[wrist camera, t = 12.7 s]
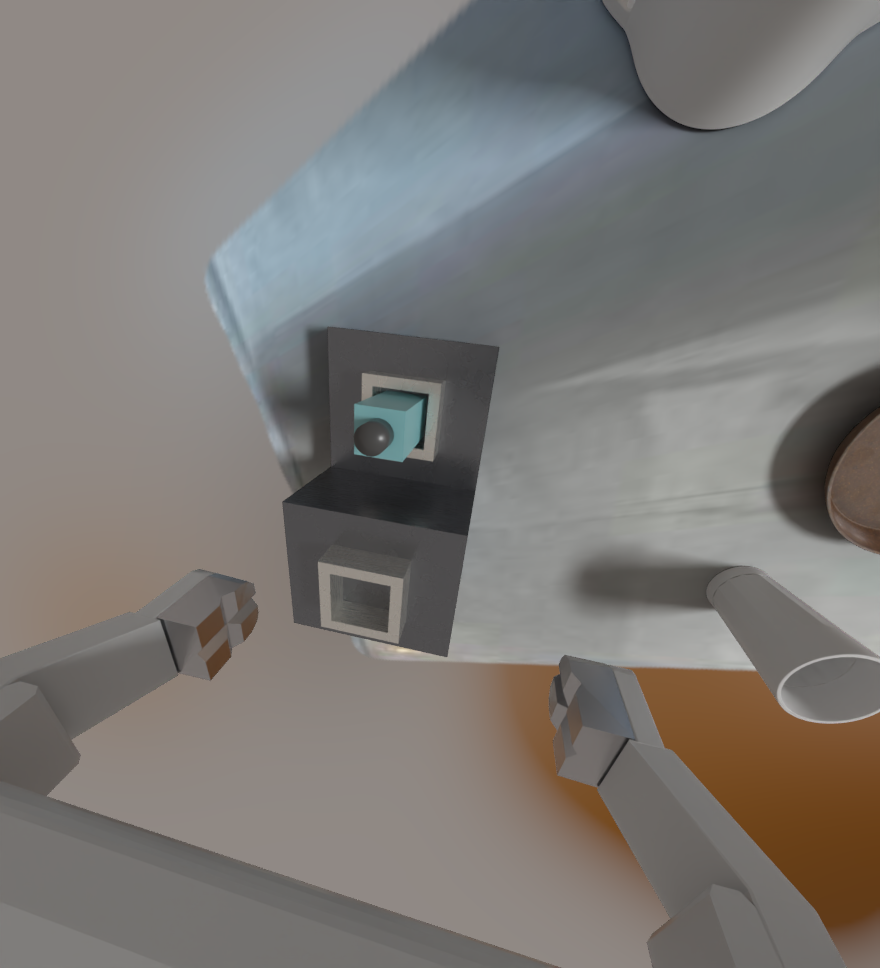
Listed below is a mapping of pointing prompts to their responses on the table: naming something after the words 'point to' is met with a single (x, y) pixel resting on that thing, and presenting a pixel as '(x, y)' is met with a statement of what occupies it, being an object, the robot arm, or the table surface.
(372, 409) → the plug
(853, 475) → the plant saucer
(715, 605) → the cup
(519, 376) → the table surface
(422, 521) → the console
